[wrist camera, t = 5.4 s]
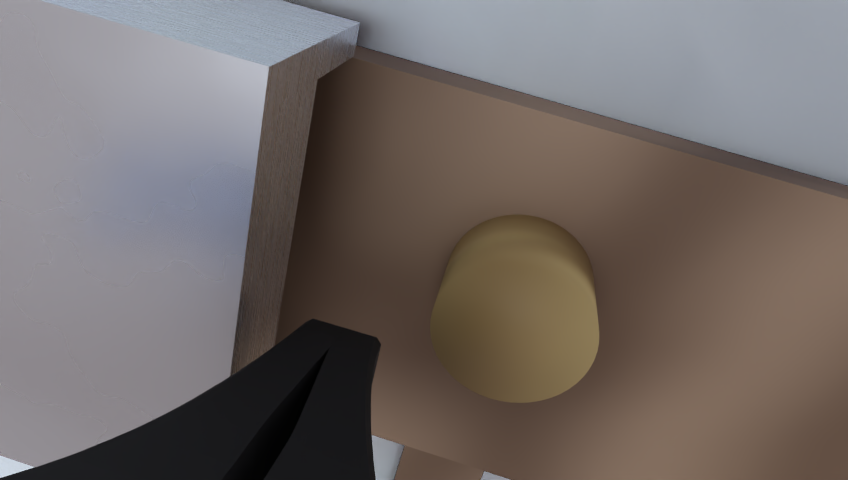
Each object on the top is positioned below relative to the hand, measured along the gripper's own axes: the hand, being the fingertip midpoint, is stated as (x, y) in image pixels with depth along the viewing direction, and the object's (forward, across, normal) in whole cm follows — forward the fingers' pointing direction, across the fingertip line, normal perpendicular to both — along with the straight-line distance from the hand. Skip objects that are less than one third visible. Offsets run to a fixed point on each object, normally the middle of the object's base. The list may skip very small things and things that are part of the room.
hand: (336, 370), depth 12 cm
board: (+4, -2, +2) cm, 5 cm away
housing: (+2, +5, -2) cm, 6 cm away
